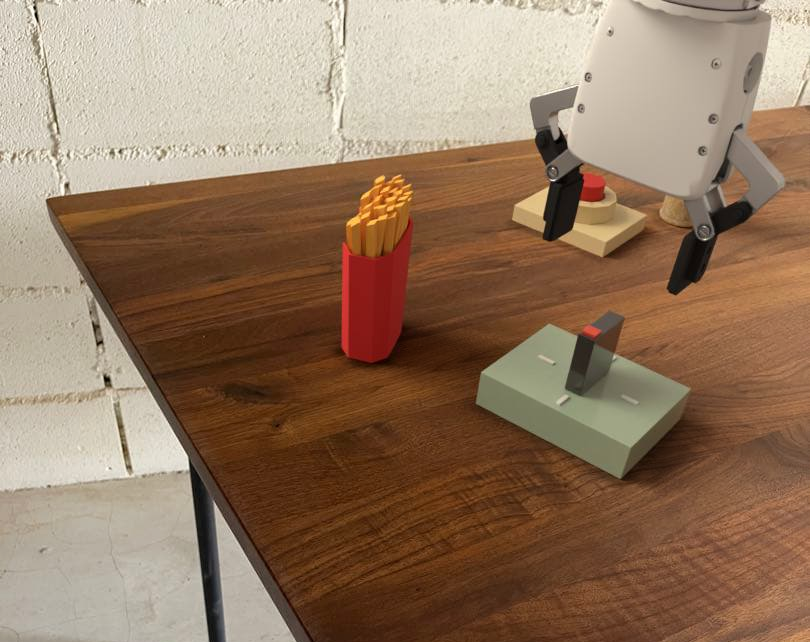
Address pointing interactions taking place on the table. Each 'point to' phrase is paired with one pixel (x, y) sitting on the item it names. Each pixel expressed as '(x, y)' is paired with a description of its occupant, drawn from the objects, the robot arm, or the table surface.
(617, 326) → the red-topped dark block
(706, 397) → the table surface
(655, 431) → the green flat block
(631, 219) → the switch block
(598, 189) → the power button
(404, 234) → the french fries
